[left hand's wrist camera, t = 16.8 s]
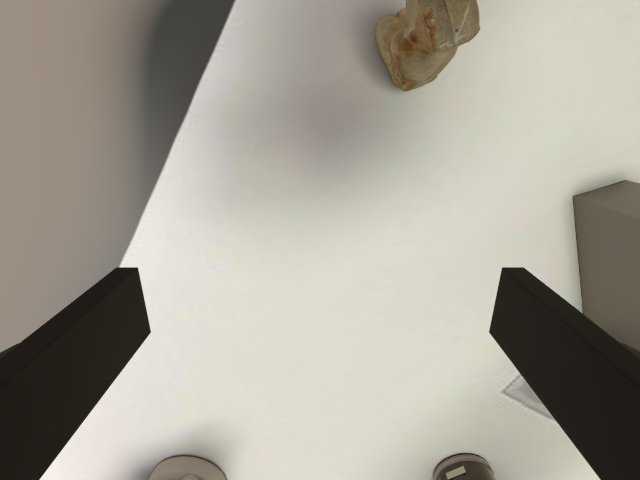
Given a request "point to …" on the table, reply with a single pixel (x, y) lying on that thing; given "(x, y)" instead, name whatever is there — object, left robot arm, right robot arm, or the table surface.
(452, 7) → the sculpture
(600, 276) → the box
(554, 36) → the table surface
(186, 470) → the bust sculpture
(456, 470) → the right robot arm
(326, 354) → the table surface
